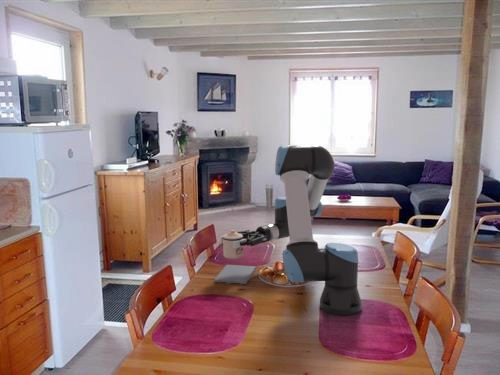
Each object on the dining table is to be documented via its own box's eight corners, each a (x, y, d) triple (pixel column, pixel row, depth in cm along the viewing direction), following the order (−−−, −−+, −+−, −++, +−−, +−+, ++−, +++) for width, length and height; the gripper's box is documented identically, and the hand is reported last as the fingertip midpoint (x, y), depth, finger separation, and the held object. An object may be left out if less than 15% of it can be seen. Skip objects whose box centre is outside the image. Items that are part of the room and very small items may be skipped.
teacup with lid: (239, 259, 187) (238, 233, 185) (219, 258, 190) (218, 232, 188) (248, 251, 199) (248, 226, 197) (229, 249, 201) (229, 225, 199)
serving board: (246, 284, 184) (246, 282, 184) (214, 282, 187) (214, 280, 187) (255, 268, 203) (255, 266, 203) (226, 266, 206) (226, 264, 206)
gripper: (282, 246, 196) (241, 257, 182) (252, 236, 213) (213, 245, 199) (282, 230, 194) (241, 239, 181) (252, 221, 211) (212, 229, 198)
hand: (226, 242), depth 190 cm, fingers closed on teacup with lid, 9 cm apart
